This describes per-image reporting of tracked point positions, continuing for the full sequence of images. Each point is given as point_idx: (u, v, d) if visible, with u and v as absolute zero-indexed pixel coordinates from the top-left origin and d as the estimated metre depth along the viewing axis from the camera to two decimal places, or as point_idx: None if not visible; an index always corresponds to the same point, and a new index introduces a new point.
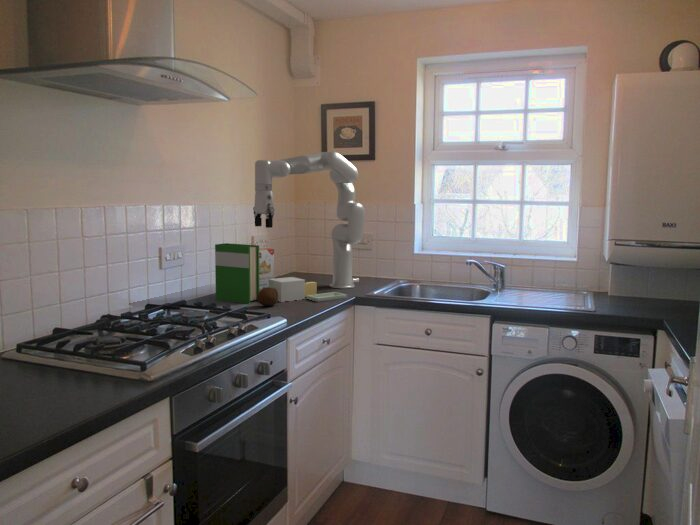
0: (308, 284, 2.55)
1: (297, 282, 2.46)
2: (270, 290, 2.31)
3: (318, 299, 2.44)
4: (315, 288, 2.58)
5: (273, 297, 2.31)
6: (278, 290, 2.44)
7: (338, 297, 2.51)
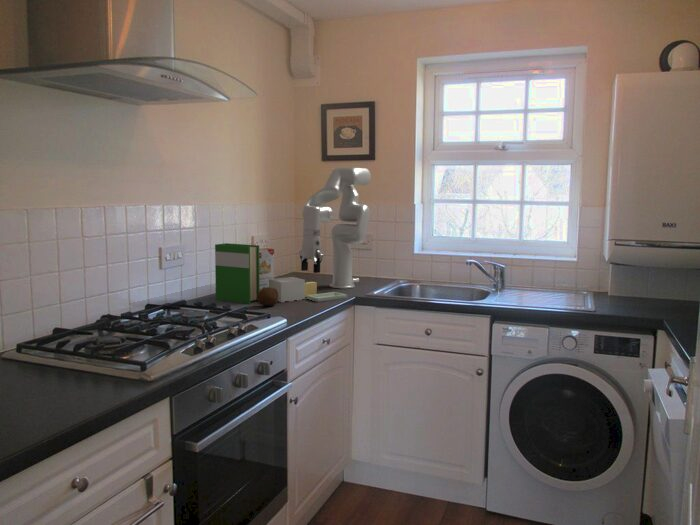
0: (308, 284, 2.55)
1: (297, 282, 2.46)
2: (270, 290, 2.31)
3: (318, 299, 2.44)
4: (315, 288, 2.58)
5: (273, 297, 2.31)
6: (278, 290, 2.44)
7: (338, 297, 2.51)
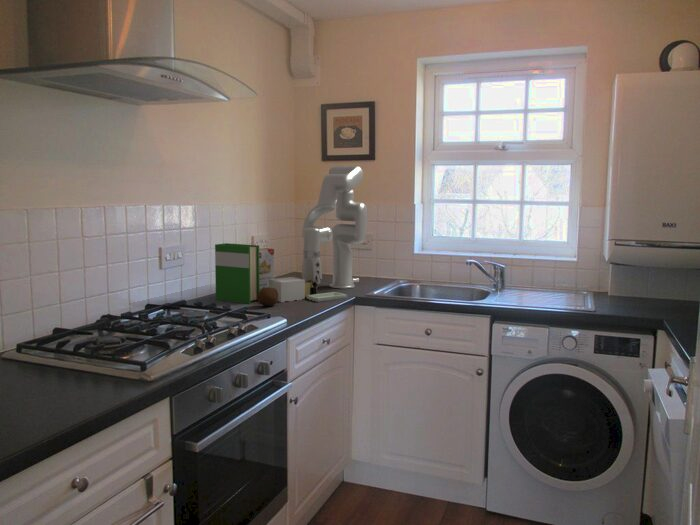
0: (308, 284, 2.55)
1: (297, 282, 2.46)
2: (270, 290, 2.31)
3: (318, 299, 2.44)
4: None
5: (273, 297, 2.31)
6: (278, 290, 2.44)
7: (338, 297, 2.51)
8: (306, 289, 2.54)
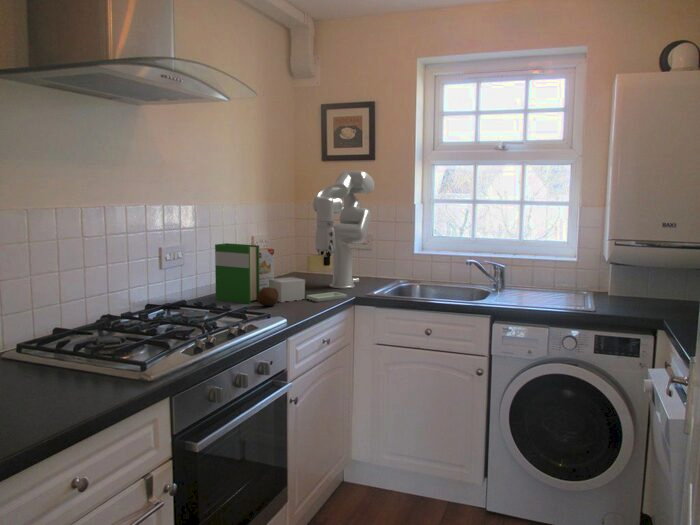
0: (323, 256, 2.58)
1: (297, 282, 2.46)
2: (270, 290, 2.31)
3: (318, 299, 2.44)
4: (331, 260, 2.61)
5: (273, 297, 2.31)
6: (278, 290, 2.44)
7: (338, 297, 2.51)
8: (321, 261, 2.58)
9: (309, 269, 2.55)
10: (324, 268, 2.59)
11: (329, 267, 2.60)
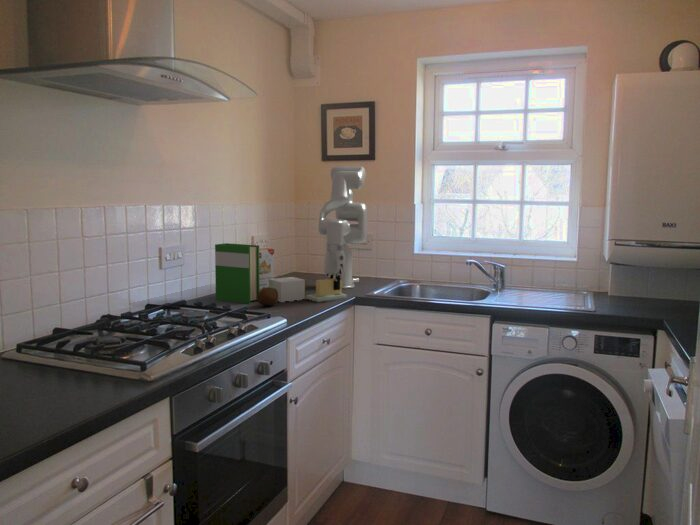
0: (333, 280, 2.51)
1: (297, 282, 2.46)
2: (270, 290, 2.31)
3: (318, 299, 2.44)
4: (341, 284, 2.54)
5: (273, 297, 2.31)
6: (278, 290, 2.44)
7: (338, 297, 2.51)
8: (331, 286, 2.51)
9: (319, 294, 2.48)
10: (334, 292, 2.52)
11: (339, 291, 2.54)
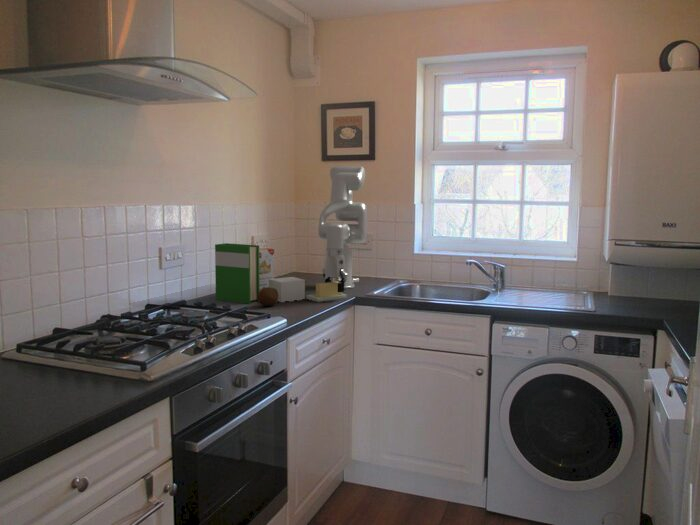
0: (333, 284, 2.51)
1: (297, 282, 2.46)
2: (270, 290, 2.31)
3: (318, 299, 2.44)
4: None
5: (273, 297, 2.31)
6: (278, 290, 2.44)
7: (338, 297, 2.51)
8: (331, 289, 2.51)
9: (318, 297, 2.48)
10: None
11: None
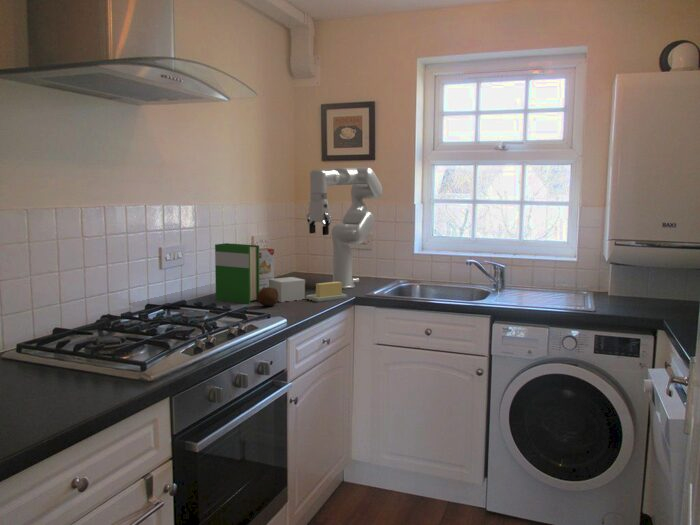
0: (333, 284, 2.51)
1: (297, 282, 2.46)
2: (270, 290, 2.31)
3: (318, 299, 2.44)
4: (341, 288, 2.54)
5: (273, 297, 2.31)
6: (278, 290, 2.44)
7: (338, 297, 2.51)
8: (331, 289, 2.51)
9: (318, 297, 2.48)
10: None
11: None
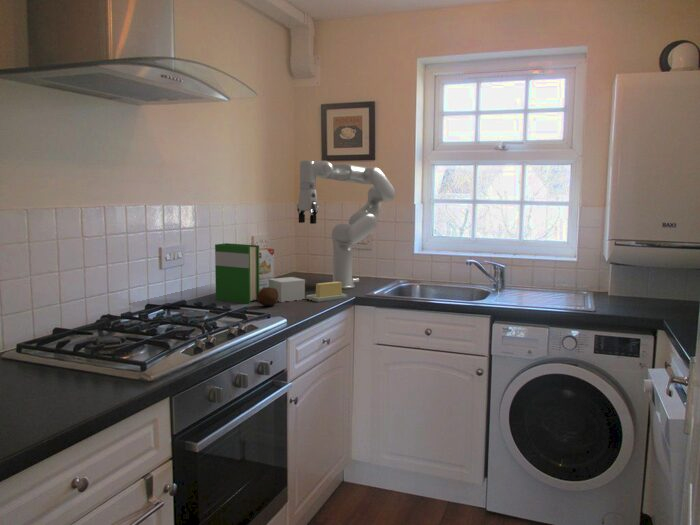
0: (333, 284, 2.51)
1: (297, 282, 2.46)
2: (270, 290, 2.31)
3: (318, 299, 2.44)
4: (341, 288, 2.54)
5: (273, 297, 2.31)
6: (278, 290, 2.44)
7: (338, 297, 2.51)
8: (331, 289, 2.51)
9: (318, 297, 2.48)
10: None
11: None
